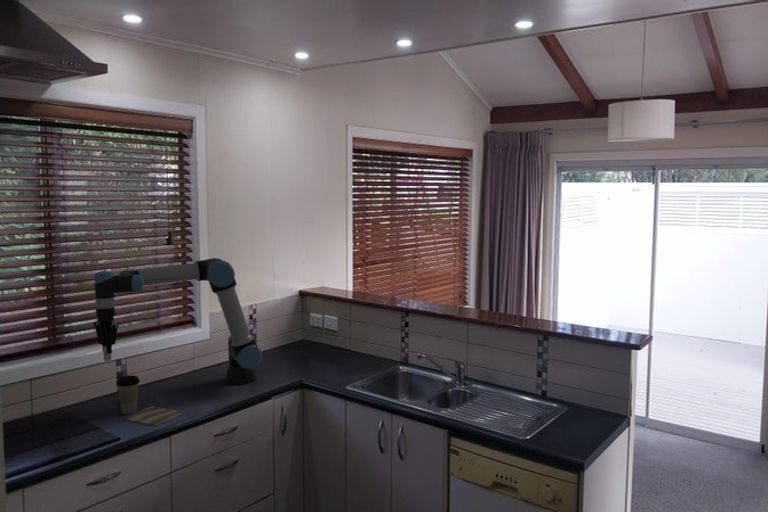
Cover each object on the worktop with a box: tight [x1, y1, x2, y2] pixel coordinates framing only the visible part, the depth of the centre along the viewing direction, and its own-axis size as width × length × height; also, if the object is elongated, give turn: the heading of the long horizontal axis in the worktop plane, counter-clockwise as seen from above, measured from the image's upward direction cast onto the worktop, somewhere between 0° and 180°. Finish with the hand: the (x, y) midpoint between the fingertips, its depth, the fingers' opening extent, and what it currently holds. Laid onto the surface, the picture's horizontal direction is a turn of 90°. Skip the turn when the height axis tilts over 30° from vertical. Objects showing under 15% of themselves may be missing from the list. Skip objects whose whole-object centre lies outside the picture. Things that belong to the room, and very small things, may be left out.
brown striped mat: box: [122, 405, 185, 427], centre depth 266 cm, size 18×16×1 cm
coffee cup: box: [116, 375, 140, 415], centre depth 271 cm, size 9×9×15 cm
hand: (107, 360), depth 274 cm, fingers closed
